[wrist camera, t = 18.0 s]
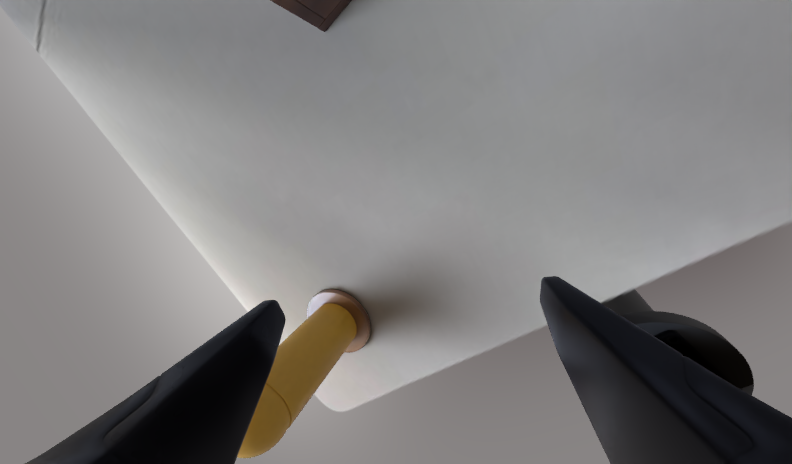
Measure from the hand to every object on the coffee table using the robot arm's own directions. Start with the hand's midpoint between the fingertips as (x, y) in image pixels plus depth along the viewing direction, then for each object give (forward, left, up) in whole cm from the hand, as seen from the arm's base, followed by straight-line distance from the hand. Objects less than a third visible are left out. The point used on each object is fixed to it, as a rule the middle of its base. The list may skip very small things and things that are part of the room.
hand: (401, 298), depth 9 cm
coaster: (0, +17, -13) cm, 21 cm away
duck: (0, +17, -12) cm, 21 cm away
